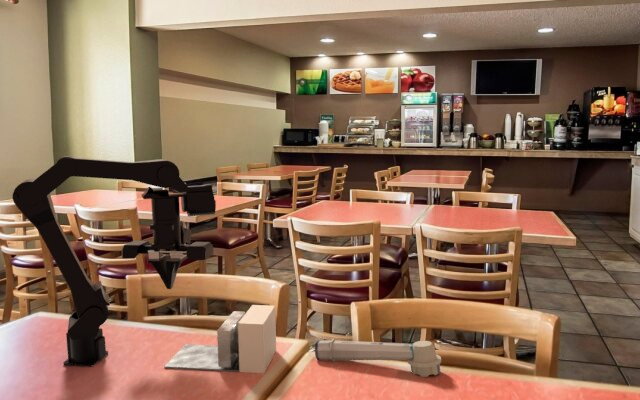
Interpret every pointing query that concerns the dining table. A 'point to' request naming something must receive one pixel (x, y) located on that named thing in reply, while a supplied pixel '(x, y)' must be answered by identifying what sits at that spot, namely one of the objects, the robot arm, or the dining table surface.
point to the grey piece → (229, 340)
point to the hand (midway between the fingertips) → (169, 288)
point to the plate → (199, 359)
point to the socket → (257, 338)
